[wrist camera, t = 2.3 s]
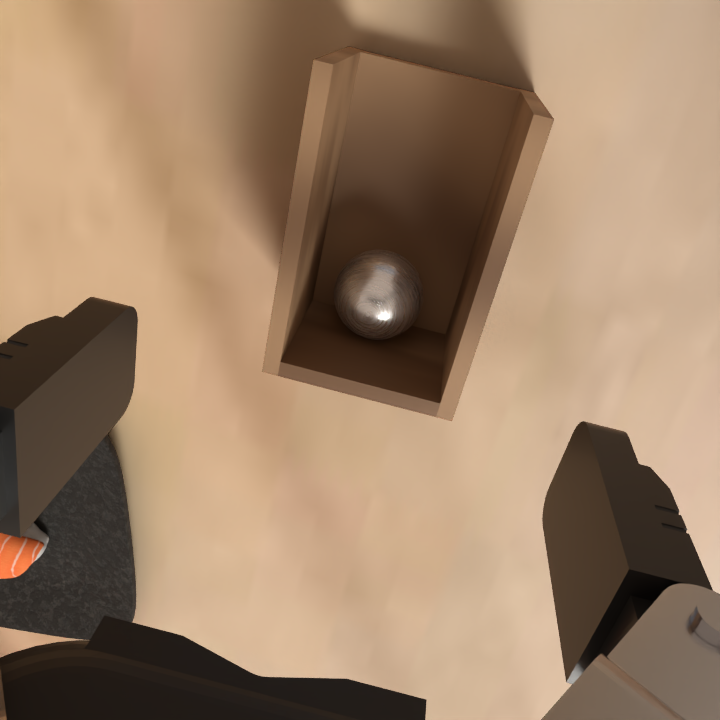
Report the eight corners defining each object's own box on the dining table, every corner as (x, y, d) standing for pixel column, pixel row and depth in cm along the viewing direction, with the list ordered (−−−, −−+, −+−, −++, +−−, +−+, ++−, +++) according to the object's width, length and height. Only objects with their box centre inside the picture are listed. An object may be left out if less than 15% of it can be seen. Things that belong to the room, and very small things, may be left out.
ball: (383, 218, 23) (360, 252, 20) (448, 277, 23) (433, 317, 21) (331, 276, 25) (304, 312, 22) (393, 330, 25) (373, 372, 23)
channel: (455, 342, 26) (451, 421, 21) (300, 302, 26) (261, 372, 21) (534, 92, 21) (553, 119, 16) (348, 46, 21) (313, 59, 17)
